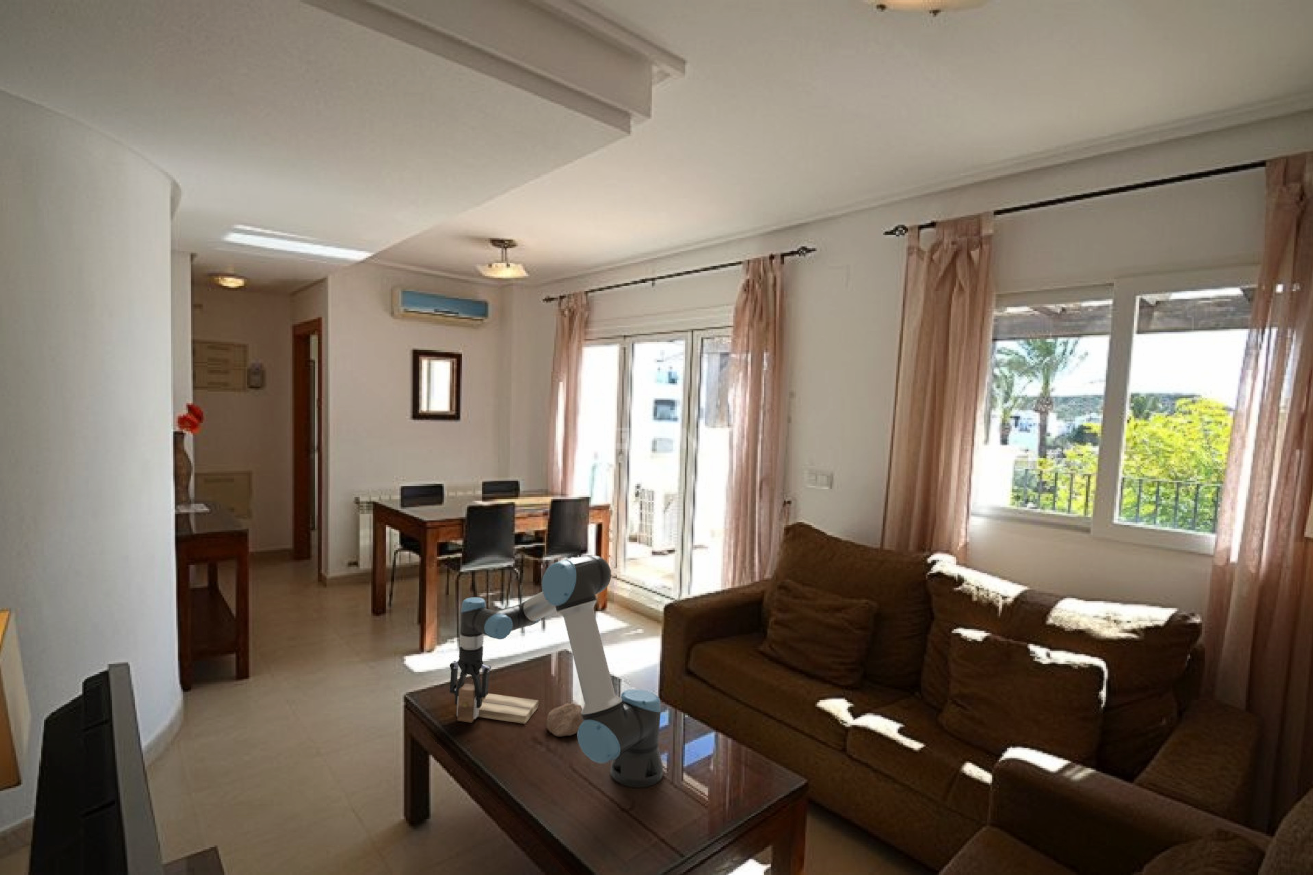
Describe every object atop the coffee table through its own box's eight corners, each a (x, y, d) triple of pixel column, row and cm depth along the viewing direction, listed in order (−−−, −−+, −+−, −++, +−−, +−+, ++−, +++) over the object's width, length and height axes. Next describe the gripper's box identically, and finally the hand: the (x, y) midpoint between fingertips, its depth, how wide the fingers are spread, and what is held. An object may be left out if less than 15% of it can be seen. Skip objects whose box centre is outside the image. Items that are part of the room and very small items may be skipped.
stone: (587, 735, 206) (586, 702, 211) (584, 733, 198) (583, 699, 203) (549, 739, 205) (549, 706, 210) (544, 737, 197) (544, 703, 202)
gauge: (470, 723, 204) (472, 691, 204) (456, 721, 205) (458, 689, 205) (490, 703, 219) (491, 673, 218) (476, 701, 220) (478, 671, 219)
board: (525, 723, 207) (525, 715, 207) (457, 713, 211) (457, 706, 211) (538, 707, 218) (538, 700, 218) (473, 698, 222) (473, 691, 222)
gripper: (502, 645, 209) (498, 714, 209) (451, 638, 212) (447, 706, 212) (492, 653, 201) (488, 724, 202) (440, 646, 204) (436, 716, 205)
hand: (467, 715), depth 207 cm, fingers closed on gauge, 5 cm apart
